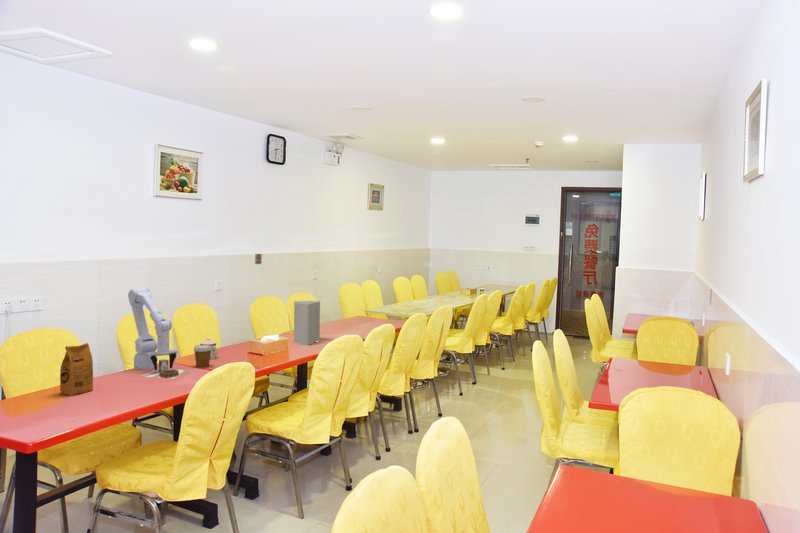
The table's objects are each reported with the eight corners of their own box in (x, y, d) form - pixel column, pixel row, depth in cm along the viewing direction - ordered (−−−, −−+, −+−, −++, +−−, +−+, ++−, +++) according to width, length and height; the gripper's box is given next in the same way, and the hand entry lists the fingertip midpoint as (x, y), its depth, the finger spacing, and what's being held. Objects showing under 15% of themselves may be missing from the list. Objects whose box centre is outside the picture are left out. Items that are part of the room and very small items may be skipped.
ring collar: (156, 377, 292) (155, 373, 292) (165, 373, 301) (165, 369, 301) (172, 378, 291) (172, 374, 291) (181, 373, 300) (181, 370, 300)
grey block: (300, 339, 407) (301, 300, 406) (319, 341, 403) (320, 301, 402) (287, 344, 389) (288, 303, 388) (307, 346, 385) (308, 304, 383)
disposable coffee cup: (214, 366, 322) (214, 345, 322) (207, 370, 313) (207, 348, 312) (198, 365, 323) (198, 344, 322) (190, 369, 314) (190, 347, 313)
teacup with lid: (196, 358, 341) (196, 338, 340) (208, 355, 349) (208, 336, 349) (212, 360, 336) (212, 340, 335) (223, 357, 344) (223, 338, 343)
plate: (139, 378, 293) (139, 376, 293) (158, 370, 310) (158, 368, 310) (173, 380, 290) (173, 378, 290) (190, 372, 308) (190, 370, 308)
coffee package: (57, 393, 264) (56, 345, 263) (83, 387, 274) (83, 341, 273) (69, 396, 259) (68, 348, 257) (96, 390, 269) (95, 344, 268)
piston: (157, 372, 302) (157, 361, 301) (161, 370, 306) (161, 359, 306) (165, 372, 301) (165, 361, 301) (169, 370, 306) (169, 359, 305)
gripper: (150, 346, 295) (150, 372, 296) (179, 343, 304) (179, 368, 305) (147, 343, 301) (147, 369, 302) (175, 341, 310) (175, 366, 310)
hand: (163, 368), depth 304 cm, fingers open, 7 cm apart
